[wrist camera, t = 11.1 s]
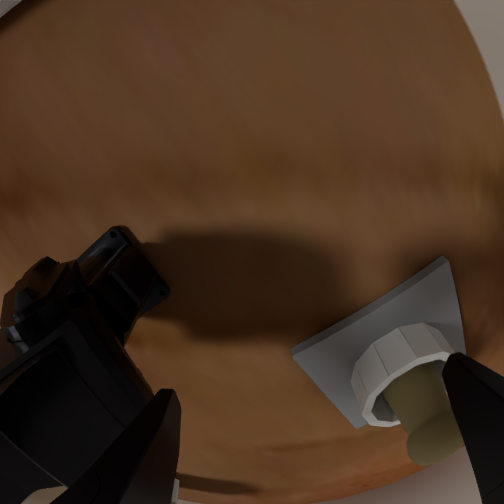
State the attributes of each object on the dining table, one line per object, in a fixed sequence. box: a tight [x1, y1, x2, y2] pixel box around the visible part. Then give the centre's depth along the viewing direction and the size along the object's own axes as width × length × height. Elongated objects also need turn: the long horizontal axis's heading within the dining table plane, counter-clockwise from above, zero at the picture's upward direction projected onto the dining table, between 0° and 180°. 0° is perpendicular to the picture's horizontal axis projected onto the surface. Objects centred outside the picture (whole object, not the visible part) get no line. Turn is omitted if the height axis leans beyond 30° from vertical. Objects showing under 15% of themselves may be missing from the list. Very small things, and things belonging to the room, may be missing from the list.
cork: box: [381, 361, 464, 466], centre depth 19 cm, size 6×6×11 cm
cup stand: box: [290, 255, 466, 429], centre depth 23 cm, size 15×16×5 cm
